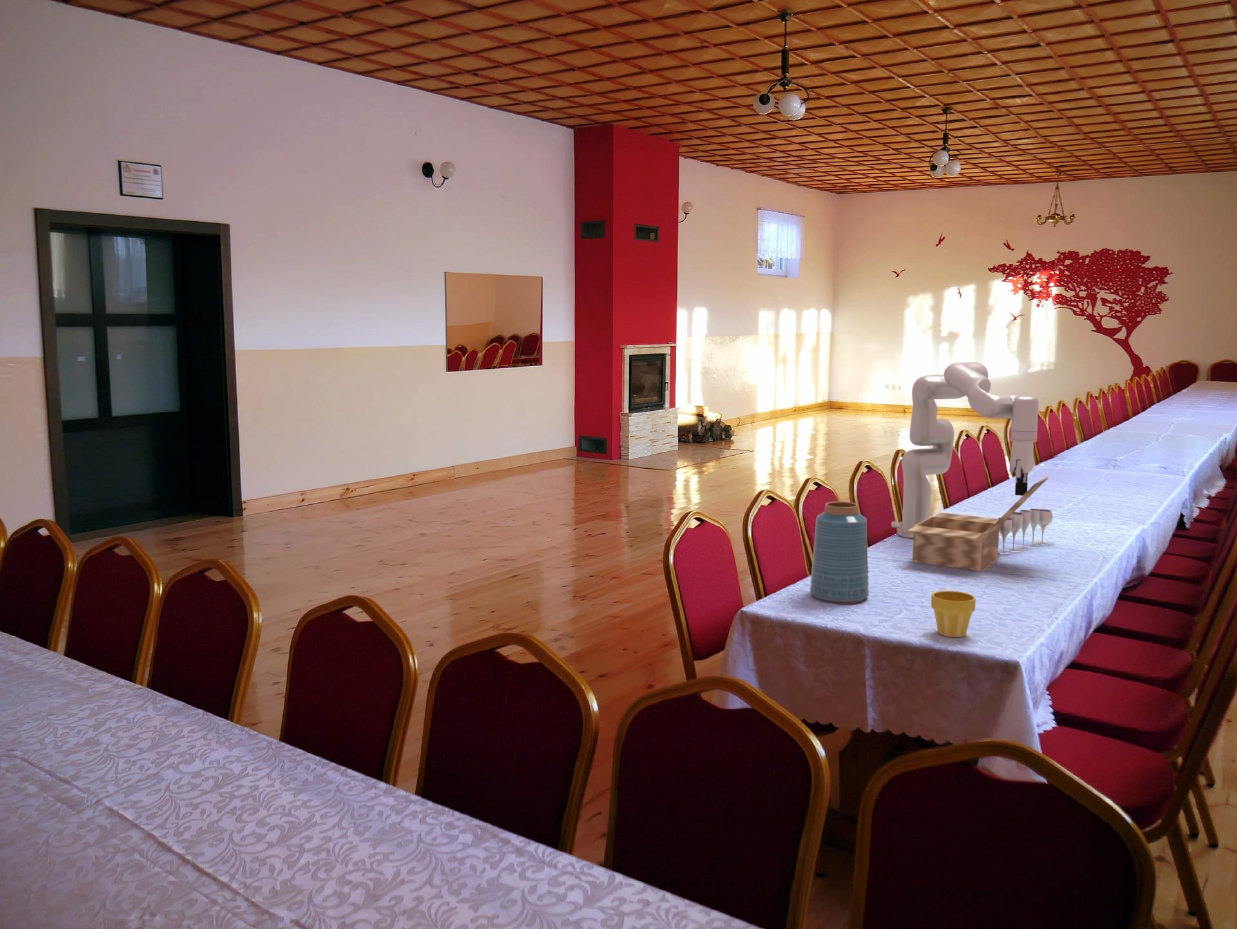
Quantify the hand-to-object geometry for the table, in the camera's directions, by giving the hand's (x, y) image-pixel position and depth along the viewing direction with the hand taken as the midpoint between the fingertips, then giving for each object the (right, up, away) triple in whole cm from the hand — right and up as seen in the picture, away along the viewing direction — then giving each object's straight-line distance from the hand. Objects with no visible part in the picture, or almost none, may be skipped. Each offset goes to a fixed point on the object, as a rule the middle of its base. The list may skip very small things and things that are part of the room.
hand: (1021, 495), depth 300 cm
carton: (-15, -22, +15) cm, 30 cm away
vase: (-62, -28, -25) cm, 73 cm away
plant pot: (-41, -33, -58) cm, 79 cm away
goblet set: (+14, -20, +31) cm, 39 cm away
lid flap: (-1, -3, +1) cm, 4 cm away
